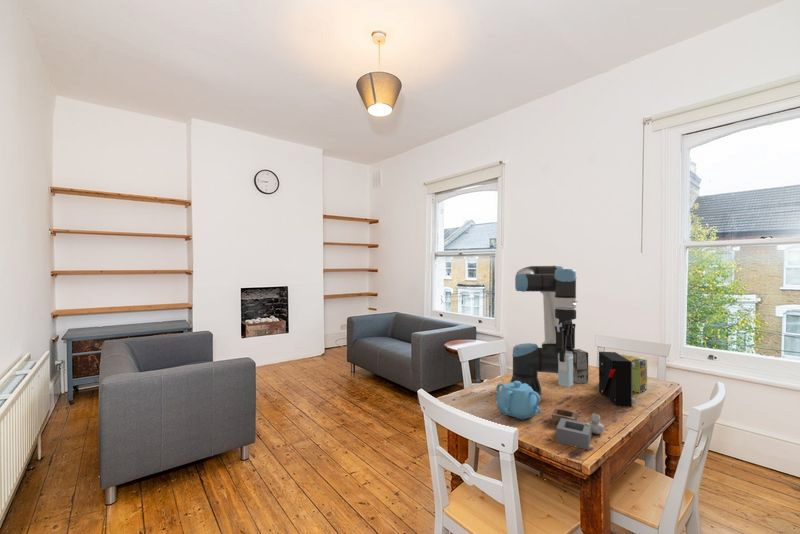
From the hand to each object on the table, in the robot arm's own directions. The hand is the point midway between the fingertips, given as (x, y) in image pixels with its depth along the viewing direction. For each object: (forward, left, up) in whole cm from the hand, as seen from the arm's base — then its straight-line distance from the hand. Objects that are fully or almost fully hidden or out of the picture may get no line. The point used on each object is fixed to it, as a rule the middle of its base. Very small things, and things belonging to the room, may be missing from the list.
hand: (565, 368), depth 137 cm
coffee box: (-3, +64, -22) cm, 68 cm away
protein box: (+19, +65, -22) cm, 72 cm away
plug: (0, 0, -6) cm, 6 cm away
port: (+4, -11, -22) cm, 25 cm away
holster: (-1, +2, -22) cm, 22 cm away
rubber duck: (+10, 0, -22) cm, 25 cm away
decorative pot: (-19, +1, -22) cm, 29 cm away
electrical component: (+15, +43, -22) cm, 51 cm away
